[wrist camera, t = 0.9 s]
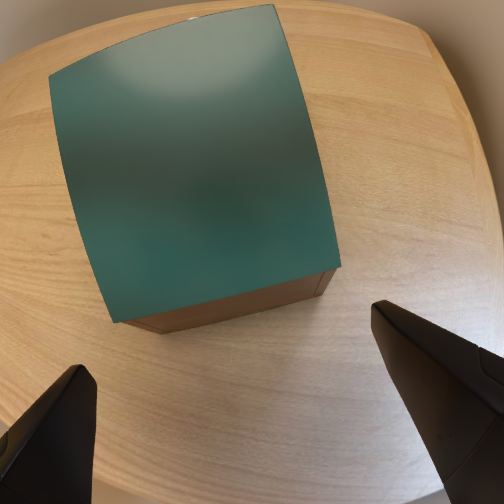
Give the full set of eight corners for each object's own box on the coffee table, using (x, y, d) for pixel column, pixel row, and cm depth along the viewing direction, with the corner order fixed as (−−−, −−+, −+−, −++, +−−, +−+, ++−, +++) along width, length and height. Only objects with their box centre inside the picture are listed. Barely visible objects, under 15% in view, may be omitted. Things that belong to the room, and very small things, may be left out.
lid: (54, 79, 13) (47, 76, 12) (272, 9, 13) (273, 3, 12) (117, 317, 16) (113, 324, 16) (337, 263, 16) (342, 267, 16)
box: (142, 187, 28) (111, 143, 21) (274, 151, 28) (271, 97, 21) (161, 334, 23) (119, 322, 17) (322, 294, 23) (338, 267, 17)
